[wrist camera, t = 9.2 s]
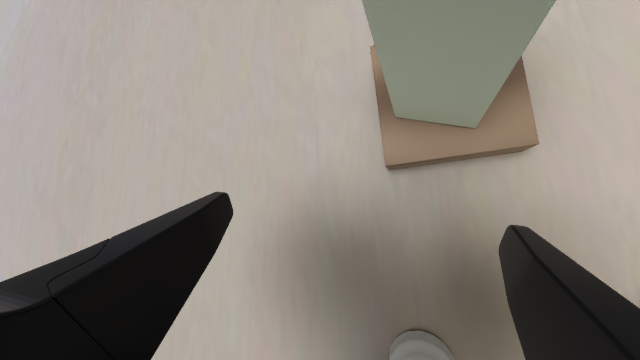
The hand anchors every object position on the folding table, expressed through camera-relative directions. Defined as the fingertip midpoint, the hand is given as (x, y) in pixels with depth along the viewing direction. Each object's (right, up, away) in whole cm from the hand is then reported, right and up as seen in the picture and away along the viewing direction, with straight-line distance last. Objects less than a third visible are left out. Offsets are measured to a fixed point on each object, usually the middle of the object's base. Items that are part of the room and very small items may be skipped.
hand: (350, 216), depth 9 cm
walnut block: (+8, +7, +12) cm, 16 cm away
